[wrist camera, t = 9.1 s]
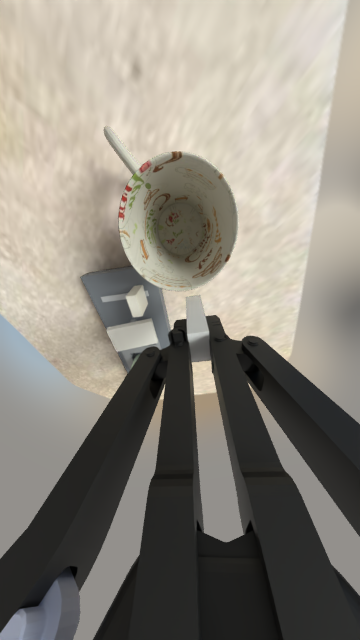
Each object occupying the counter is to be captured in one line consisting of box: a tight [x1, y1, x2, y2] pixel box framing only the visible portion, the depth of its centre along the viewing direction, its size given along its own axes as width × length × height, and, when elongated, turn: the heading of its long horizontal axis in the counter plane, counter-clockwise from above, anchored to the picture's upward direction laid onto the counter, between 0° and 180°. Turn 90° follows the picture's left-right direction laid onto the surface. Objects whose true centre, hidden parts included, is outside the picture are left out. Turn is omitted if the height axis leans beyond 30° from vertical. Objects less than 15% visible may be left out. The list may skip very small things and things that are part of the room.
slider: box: [126, 285, 148, 317], centre depth 20 cm, size 3×1×4 cm, turn 8°
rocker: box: [106, 318, 158, 352], centre depth 23 cm, size 4×6×1 cm, turn 99°
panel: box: [81, 266, 171, 373], centre depth 26 cm, size 22×10×4 cm, turn 9°
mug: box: [104, 126, 239, 291], centre depth 14 cm, size 8×13×10 cm, turn 42°
